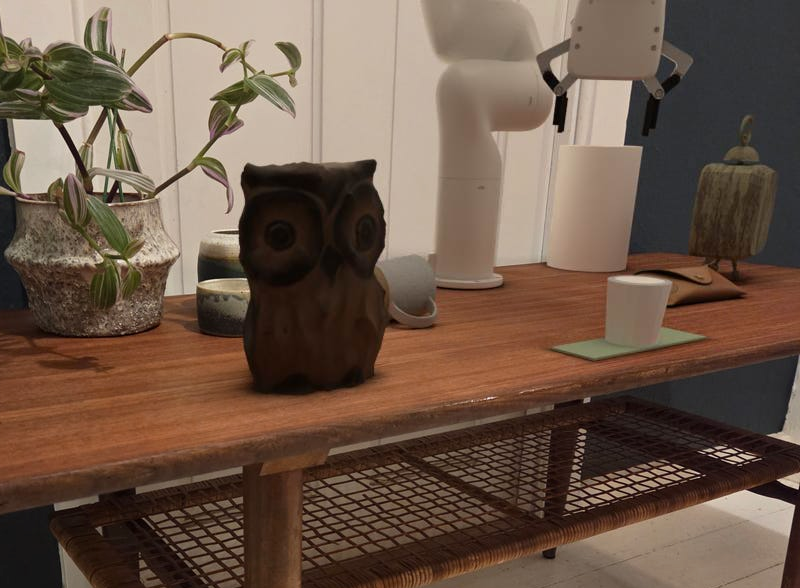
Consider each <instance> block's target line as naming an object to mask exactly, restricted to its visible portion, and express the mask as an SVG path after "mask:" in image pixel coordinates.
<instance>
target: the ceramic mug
mask: <svg viewBox="0 0 800 588" xmlns="http://www.w3.org/2000/svg"><path fill="white" fill-rule="evenodd" d="M410 254H411V255H407V256H405V255H403V256H398V257H394V258H389V259H383V260H378V261H377V263H376V265H375V268H374V274H375V276H376V278H377V280H378V282H380V284H381V286H382V287H383V288H384V290H385V291H386V295H385V298H384V300H385V306H386V307H387V309H388V314H389V318H390V320H389V321H392V320H395V321H397V322H398V323H400V324H401V325H403V326H406V327H409V328H415V329H424V328H428V327H430V326H432V325H433V324H434V323H435V320H436V318H437V315H438V307H437V304H436V303H435V301H436V298H437V297H436V296H437V286H436V280H435V276H434V273H433V270H432V268H431V267H430V265H429V263H428V262H427V261H426V260H425V259H424V258H423V257H421V256H419V255H420V254H412V253H410ZM428 313H429V314H430V315H429V316H426V315H427V314H428ZM424 315H425V316H424Z"/></svg>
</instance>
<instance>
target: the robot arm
mask: <svg viewBox="0 0 800 588" xmlns="http://www.w3.org/2000/svg"><path fill="white" fill-rule="evenodd" d="M666 3H667V0H577V2H576V7H575V13H574V17H573V22H572V28H571V34H570V37H569V38H567V39H566V40H563V41H561V42H559V43H558V44H556V45H553V46H552V47H549V48H547V49H545V50H544V48H543V44H542V42H541V38H540V34H539V31H538V28H537V25H536V22H535V19H534V16H533V15H532V13H531V12H530V10H529V9H528V7H526V6H525V5H524V4H523V3H522V2H519V1H517V0H417V5H418V8H419V12H420V15H421V19H422V23H423V26H424V29H425V34H426V37H427V41H428V44H429V46H430V50H431V52H432V55H433V57H434V58H435V59H436V61H438V62H439V63H440V64H442V65H444V66H447V67H445V68H444V69H443V71H441V73H440V75H439V76H438V78H437V81H436V85H435V91H434V105H435V113H436V122H437V135H438V136H437V138H438V139H437V141H438V147H437V149H438V153H437V174H436V177H437V178H436V179H437V180H436V191H435V192H436V195H435V211H434V212H435V213H434V227H433V228H434V229H433V244H432V245H433V246H432V250H430V252H428V253H425V255H422V254H421V255H420V254H418V255H419V256H421V257H423V258H424V259H425V260H426V261H427V262H428V263H429V265H430V267H431V268H432V270H433V273H434V276H435V280H436V287H439V288H446V289H448V288H449V289H459V290H460V289H461V290H480V289H492V288H497V287H500V286H502V285H503V283H504V282H503V281H504V277H503V276H502V275H501V274H499V273H497V272H496V273H495V272H494V270H495V259H496V258H495V256H496V246H497V245H496V244H497V234H498V223H499V222H498V221H499V211H500V210H499V209H500V198H501V187H502V175H503V160H502V155H501V152H500V150H499V147H498V145H497V143H496V140H495V138H494V136H493V134H492V133H494V132H511V133H512V132H514V133H517V132H518V133H519V132H530V131H533V130H536V129H537V128H540V127H541V126H542V125H543V124H545V122H546V121H547V119H548V118H549V116H550V114H551V112H552V108H553V104H554V109H553V117H552V126H557V134H563V133H564V132H565V126H566V119H567V111H568V103H569V97H568V90H569V89H570V88H572V86H573V85H574V84H575V83H576V81H578V80H586V81H587V80H590V81H625V82H627V81H629V82H634V81H635V82H637V81H639V82H640V81H642V83H643V84H644V86H645V87H646V89H647V91H648V92H649V95H648V99H646V100H645V104H644V112H643V117H642V123H641V129H640V135H641V136H642V137H646V138H647V137H649V135H650V130H656V127H657V122H658V115H659V109H660V104H661V99H663V97H665V96H666V95H667V94H668V93H669V92H671V90H673V89H674V88H675V87H676V86H677V85H679V84H680V83H681V80H682V79H683V77H685V75H686V73H687V72H688V70H689V69H690V67H691V66H692V65H693V63H694V58H693V57H692V56H691V55H689V54H688V53H686V52H684V51H683V50H681V49H679V48H678V47H677V46H675V45H673V44H671V43H670V42H668V40H667V41H666V40H665V39H664V32H665V21H666V7H667V6H666V5H667V4H666ZM564 54H567V61H566V70H567V74H566V75H565V76H564V77H563V78H562V79H561V80H559V79H558V77H557V76H556V75H555V74H554V72H553V68H552V67H551V62H552V61H553V60H555V59H558V58H559V57H561V56H563V55H564ZM661 56H664V57H666V58H667V59H669V60H670V61H672V62H673V63H675V67H674V69H673V71H672V72H671V74H670V75H669V76H668V77H667V78H666V79H665V80H663V81H662V82H661V83H660V81H659V80H658V78H657V77H656V74H657V72H658V69H659V65H660V61H661ZM554 95H555V101H554ZM411 254H412V253H405V255H404V256H407V255H411Z"/></svg>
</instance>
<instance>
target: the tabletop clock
mask: <svg viewBox="0 0 800 588" xmlns="http://www.w3.org/2000/svg"><path fill="white" fill-rule="evenodd" d="M748 121H749V131H748V133H744V130H745V127H746V124H747V122H748ZM754 121H755V119H754V116H753V115H752V114H747V115H745V116H744V118H743V119H742V122H741V125H740V130H739V142H740V144H739V146H735V147H732V148H731V149H730V150H728V151H727V153H726V154H725V156H724V157H723V161H726V162H725V163H724V162H712V163H710V164H706V165H705V166H704V167H703V168H702V170H701V173H700V176H699V178H698V179H699V180H698V184H697V189H696V194H695V199H694V205H693V210H692V216H691V222H690V230H689V237H688V245H687V246H688V248H687V254H688V255H689V256H690V257H698V258H699V257H700V258H705V259H704V261H703V263H702V264H701V266H704V265H707V264H709V265H710V268H711V269H712V270H714V271H716V272H717V273H718V271H719V268H720V267H719V263H720V262H721V261H722V260H731V265H732V271H730V275H729V277H730V280H732V281H738V280H739V279H740V278H742V277H741V276H742V273H741V271H739V270H738V269H737V268H738V261H742V260H743V261H744V260H746V259H749V258H751V257H753V256H756V255H758V254H760V253H761V252H762V251H763V249H764V248H765V246H766V242H767V238H768V234H769V230H770V225H771V221H772V216H773V210H774V207H775V206H774V205H775V201H776V195H777V191H778V190H777V189H778V183H779V173H778V172H777V171H775V170H773V169H772V168H771V167H769V166H767V165H764V164H756V163H755V164H754V163H753V164H752V163H745V162H760V156H759V154H758V152H757V150H756V149H755V148H754V147H753V146H749V142H750V141H751V138H752V135H753V130H754V125H755V124H754V123H755V122H754ZM727 162H737V163H727Z"/></svg>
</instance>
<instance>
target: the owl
mask: <svg viewBox="0 0 800 588" xmlns="http://www.w3.org/2000/svg"><path fill="white" fill-rule="evenodd" d="M377 166H378V162H377V159H375V158H368V159H359V160H356V161H349V162H348V161H346V162H337V161H330V162H320V163H319V162H316V163H313V162H308V161H300V162H291V163H284V164H281V165H280V164H273V163H272V164H267V165H261V166H260V165H256V164H253V163H250V162H247V163H245V165H244V166H243V169H242V170H243V171H241V173H240V183H239V185H240V188H241V190H242V193H243V199H244V205H243V208H242V211H241V214H240V216H239V219H238V224H237V229H238V237H237V238H238V246H239V253H238V261H239V264H240V266H241V267H242V269H243V272H244V274H245V278H246V281H247V286H248V288H249V301H248V305H247V308H246V312H245V316H244V320H243V330H242V341H243V342H242V343H243V350H244V355H245V359H246V362H247V366H248V369H249V372H250V375H251V377H252V387H253V389H254V390H255V391H256V392H258V393H261V394H275V395H294V396H298V395H308V394H311V393H314V392H317V391H325V392H329V391H333V390H335V389H339V388H344V387H346V388H354V387H356V386H358V385H361V384H364V383H365V381H366V380H367V379H368V378H370V377H372V376H374V375H375V364H376V361H377V358H378V355H379V353H380V352H381V349H382V346H383V345H382V344H383V340H384V337H385V333H386V329H387V327H388V326H389V324H390V321H391V320H390V318H389V314H388V309H387V307H386V306H385V300H384V298H385V295H386V291H385V290H384V288H383V287H382V286H381V284H380V282H378V280H377V278H376V276H375V274H374V268H375V265H376V263H377V261H379V259H380V257H381V255H382V253H383V252H384V249H385V248H386V237H387V232H386V231H387V222H386V220H385V208H384V204H383V201H382V199H381V197H380V193H379V191H378V190H377V189H376V187H375V185H374V178H375V177H374V176H375V173H376V171H377Z"/></svg>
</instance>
